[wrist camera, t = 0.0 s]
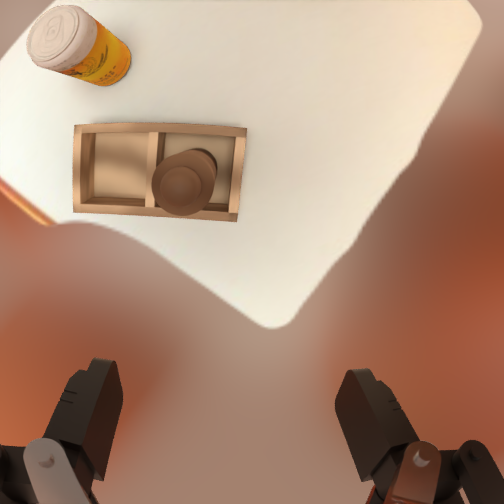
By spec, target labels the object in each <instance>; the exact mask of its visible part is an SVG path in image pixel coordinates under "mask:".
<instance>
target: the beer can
mask: <svg viewBox="0 0 504 504" xmlns="http://www.w3.org/2000/svg"><path fill="white" fill-rule="evenodd" d="M27 52H28V54H29V56H30V57H31V59H32V61H33V62H34V63H35V64H36V65H37V66H39V67H42V68H46V69H49V70H52V71H56V72H59V73H62V74H65V75H68V76H72V77H75V78H78V79H81V80H84V81H86V82H89V83H92V84H95V85H98V86H107V85H111V84H113V83H115V82H117V81H118V80H119V79H121V78H122V77H123V76H124V74H125V73H126V72H127V70H128V68H129V65H130V61H131V55H130V51H129V49H128V47H127V46H126V45H125V44H124V43H122V42H121V41H120V40H119V39H118V38H117V37H115V36H114V35H113V34H112V33H111V32H110V31H108V30H107V29H106V28H105V27H104V26H102V25H101V24H100V23H99V22H98V21H96V20H95V19H94V18H93V17H92V16H90V15H89V14H88V13H87V12H85V11H84V10H83V9H82V8H80V7H78V6H74V5H68V6H67V5H61V6H57V7H54V8H52V9H50V10H48V11H47V12H45V13H44V14H43V15H42V16H41V17H40V18H39V19H38V20H37V21H36V22H35V24H34V25H33V27H32V28H31V30H30V33H29V35H28V39H27Z"/></svg>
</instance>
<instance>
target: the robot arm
mask: <svg viewBox="0 0 504 504" xmlns="http://www.w3.org/2000/svg"><path fill="white" fill-rule="evenodd" d="M122 404H123V391H122V386H121V382H120V377H119V373H118V368H117V364H116V362H115V361H113V360H106V359H101V358H93V360H92V361H91V363H90V366H89V368H88V370H87V371H85V370H79V371H77V372H76V373H75V374H74V375H73V376H72V377H71V378H70V379H69V381H68V383H67V385H66V387H65V389H64V392H63V393H62V395H61V398H60V401H59V402H58V404H57V406H56V409H55V410H54V413H53V415H52V417H51V419H50V422H49V424H48V426H47V429H46V431H45V433H44V435H43V437H42V438H40V439H35V440H33V441H31V442H30V443H29V444H28V445H27V446H26V447H17V446H16V447H15V446H4V445H1V444H0V504H99V502H98V500H97V498H96V497H95V495H94V493H93V491H92V490H91V487H92V482H93V479H96V480H100V481H104V477H105V472H106V468H107V464H108V459H109V455H110V451H111V447H112V443H113V439H114V435H115V431H116V427H117V424H118V420H119V416H120V412H121V409H122ZM335 411H336V414H337V417H338V420H339V423H340V425H341V428H342V430H343V433H344V436H345V438H346V441H347V444H348V446H349V449H350V452H351V455H352V457H353V460H354V463H355V465H356V468H357V471H358V474H359V476H360V479H361V482H364V481H368V480H372V479H373V481H374V484H375V485H374V486H373V487H372V489H371V492H370V494H369V496H368V499H367V501H366V503H365V504H464V501H463V499H462V497H461V495H460V492H459V490H460V489H461V488H463V489H464V491H465V494H466V496H467V498H468V500H469V503H470V504H504V479H503V476H502V475H501V473H500V471H499V469H498V467H497V465H496V464H495V462H494V460H493V458H492V456H491V455H490V453H489V451H488V449H487V448H486V447H485V445H483V444H482V443H481V442H479V441H476V440H469V441H466V442H465V443H464V444H463V445H462V446H461V447H460V448H459V449H458V450H438V449H437V447H435V446H434V445H433V444H431V443H429V442H426V441H420V440H419V438H418V436H417V434H416V432H415V431H414V429H413V427H412V425H411V424H410V422H409V420H408V418H407V417H406V415H405V413H404V411H403V410H401V406H400V404H399V403H398V402H397V401H396V397H395V396H394V394H393V392H392V391H391V389H390V388H389V387H388V386H387V385H385V384H384V383H383V382H382V381H376V379H375V377H374V375H373V373H372V372H371V370H370V369H368V368H365V369H354V370H348V371H347V372H346V375H345V377H344V379H343V382H342V385H341V387H340V389H339V392H338V394H337V396H336V399H335Z"/></svg>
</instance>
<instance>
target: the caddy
mask: <svg viewBox="0 0 504 504" xmlns="http://www.w3.org/2000/svg"><path fill="white" fill-rule="evenodd" d="M246 133H247V128H238V127H228V126H215V125H200V124H180V123H101V124H82V125H75V126H74V142H73V212H75V213H99V214H119V215H138V216H156V217H172V218H187V219H201V220H215V221H228V222H237V217H238V207H239V198H240V188H241V179H242V169H243V160H244V151H245V142H246Z"/></svg>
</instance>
